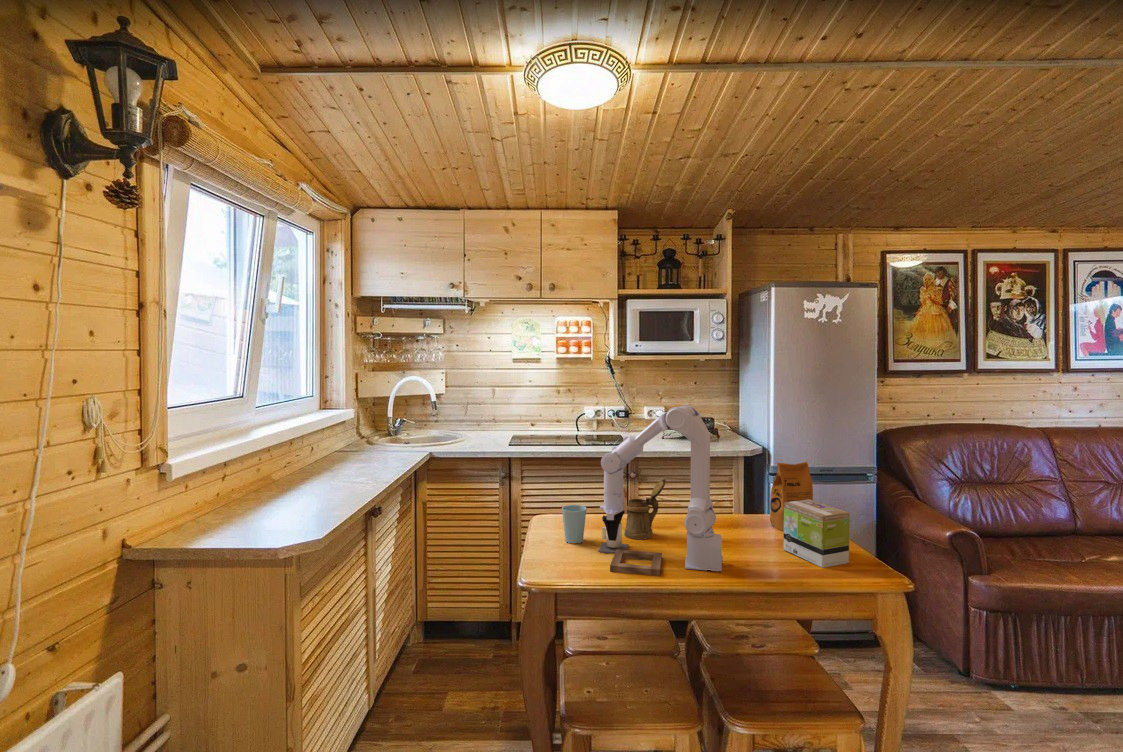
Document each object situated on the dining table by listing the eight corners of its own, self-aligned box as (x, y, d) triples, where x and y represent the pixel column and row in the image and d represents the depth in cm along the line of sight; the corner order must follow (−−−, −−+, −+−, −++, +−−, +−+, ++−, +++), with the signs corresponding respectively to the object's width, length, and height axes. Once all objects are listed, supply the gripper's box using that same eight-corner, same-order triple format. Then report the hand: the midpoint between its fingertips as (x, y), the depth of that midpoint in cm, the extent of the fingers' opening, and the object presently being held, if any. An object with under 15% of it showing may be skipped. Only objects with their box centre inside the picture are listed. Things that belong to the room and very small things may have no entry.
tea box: (781, 550, 163) (782, 501, 162) (808, 546, 166) (809, 498, 166) (822, 569, 149) (823, 514, 148) (850, 564, 152) (851, 510, 152)
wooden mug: (669, 538, 174) (669, 482, 173) (627, 540, 173) (627, 483, 172) (661, 530, 183) (662, 476, 182) (621, 531, 182) (621, 477, 181)
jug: (623, 543, 166) (623, 522, 166) (619, 548, 161) (619, 526, 161) (604, 541, 168) (604, 520, 168) (600, 546, 163) (600, 524, 163)
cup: (576, 546, 166) (576, 512, 166) (556, 541, 171) (556, 508, 171) (591, 540, 172) (591, 507, 172) (571, 535, 177) (571, 503, 177)
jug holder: (662, 558, 157) (662, 552, 157) (659, 575, 144) (659, 569, 144) (616, 554, 160) (616, 549, 160) (609, 571, 147) (609, 565, 147)
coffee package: (766, 523, 190) (766, 460, 189) (801, 522, 191) (801, 459, 190) (779, 532, 180) (780, 465, 179) (816, 531, 181) (817, 464, 180)
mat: (628, 545, 167) (628, 544, 167) (625, 554, 160) (625, 553, 160) (602, 543, 169) (602, 542, 169) (598, 552, 162) (598, 550, 162)
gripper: (604, 486, 172) (604, 529, 172) (596, 497, 158) (596, 544, 158) (626, 487, 170) (626, 530, 171) (620, 498, 156) (620, 546, 157)
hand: (613, 537), depth 164 cm, fingers closed on jug, 4 cm apart
